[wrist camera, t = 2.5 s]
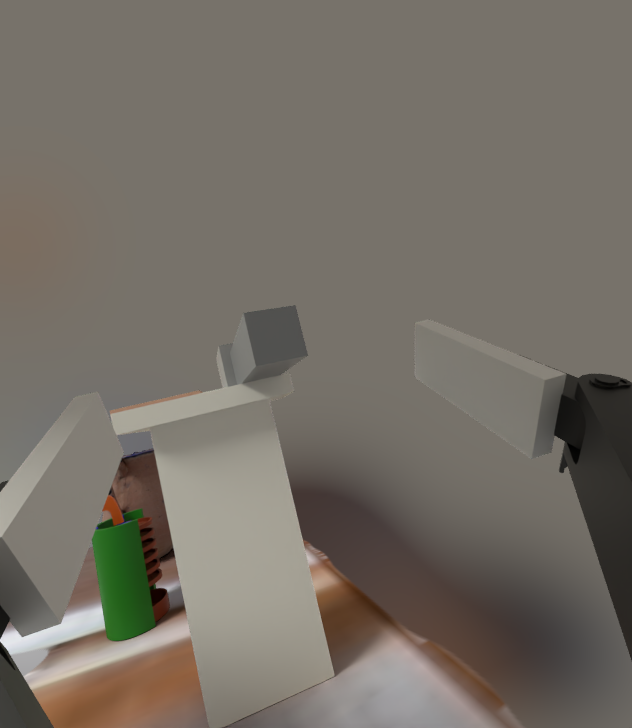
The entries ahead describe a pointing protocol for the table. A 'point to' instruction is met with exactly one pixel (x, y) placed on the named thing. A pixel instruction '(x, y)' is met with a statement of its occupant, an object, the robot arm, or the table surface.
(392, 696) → the table surface
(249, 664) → the stand
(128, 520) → the motor
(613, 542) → the robot arm
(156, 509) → the ceramic pitcher
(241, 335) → the bar
